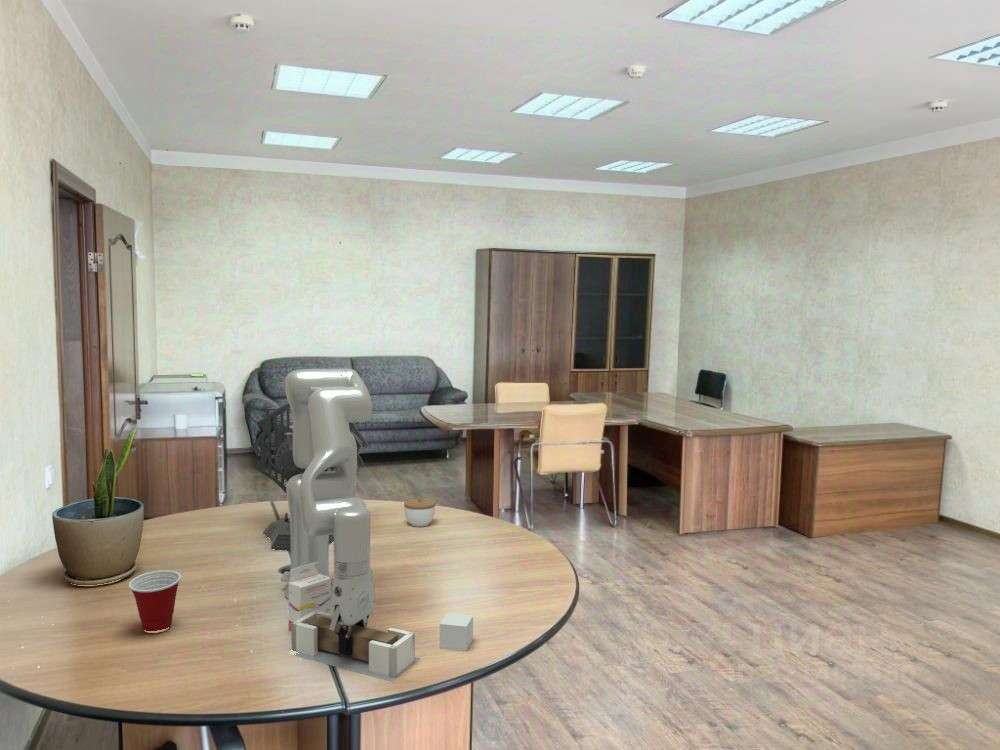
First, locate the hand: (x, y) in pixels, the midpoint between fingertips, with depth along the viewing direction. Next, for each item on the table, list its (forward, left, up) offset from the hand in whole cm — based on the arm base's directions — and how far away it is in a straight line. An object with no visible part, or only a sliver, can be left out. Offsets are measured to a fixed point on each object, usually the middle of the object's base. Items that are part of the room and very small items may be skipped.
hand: (352, 648), depth 158 cm
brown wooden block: (0, 0, -1) cm, 1 cm away
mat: (0, 0, -2) cm, 2 cm away
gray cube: (+17, +15, -2) cm, 23 cm away
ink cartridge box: (-17, +7, -2) cm, 18 cm away
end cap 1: (-10, 0, -1) cm, 10 cm away
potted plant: (-88, +7, -2) cm, 88 cm away
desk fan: (-61, +58, -2) cm, 84 cm away
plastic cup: (-48, -9, -2) cm, 49 cm away
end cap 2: (+10, 0, -1) cm, 10 cm away
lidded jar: (-38, +90, -2) cm, 98 cm away
